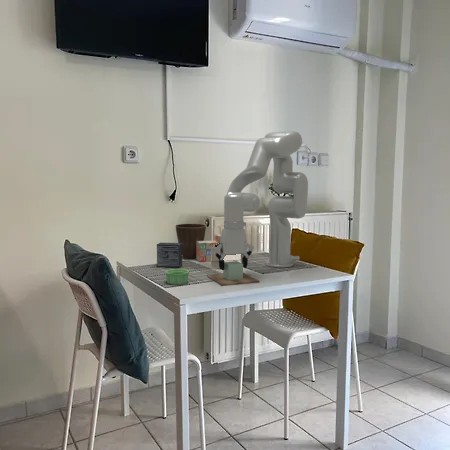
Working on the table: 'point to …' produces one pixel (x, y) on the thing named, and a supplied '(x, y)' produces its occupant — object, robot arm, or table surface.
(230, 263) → the sage cube
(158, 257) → the small box
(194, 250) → the plant pot
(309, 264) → the table surface
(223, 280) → the walnut board
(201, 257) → the stack of blocks
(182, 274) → the ramekin
